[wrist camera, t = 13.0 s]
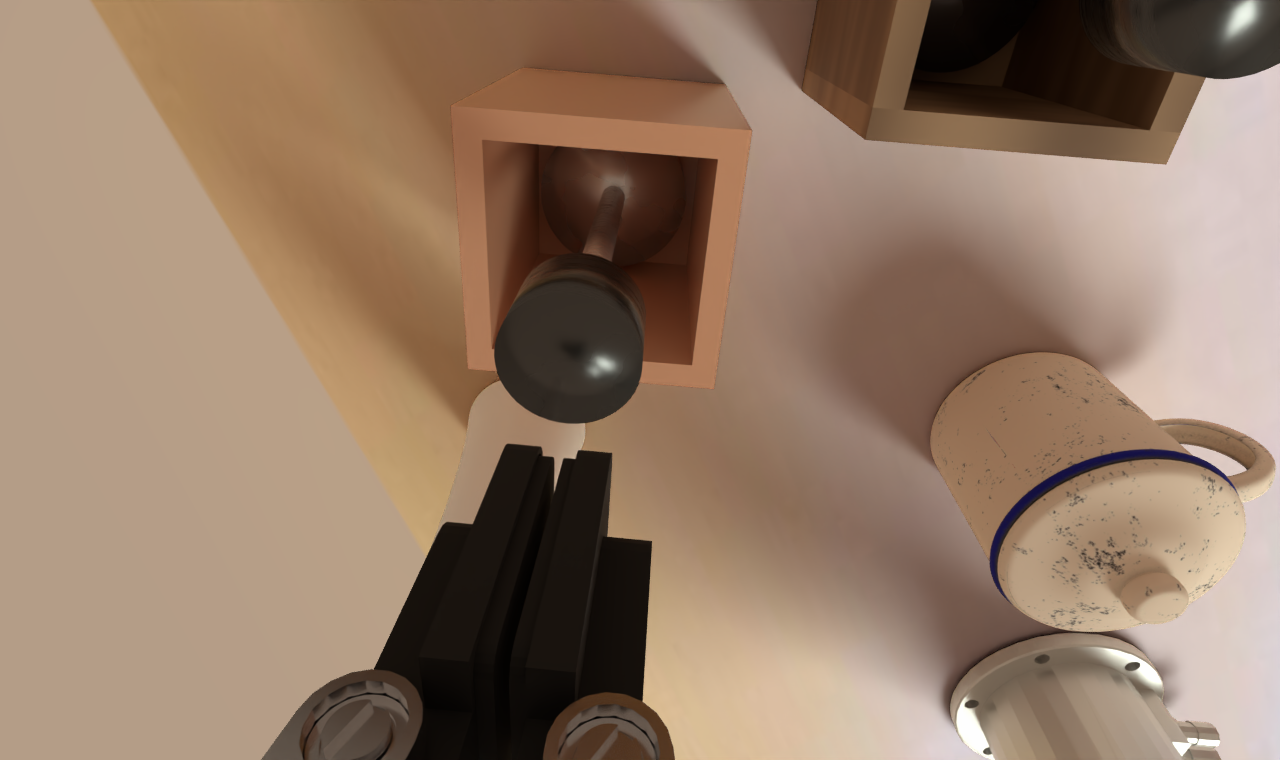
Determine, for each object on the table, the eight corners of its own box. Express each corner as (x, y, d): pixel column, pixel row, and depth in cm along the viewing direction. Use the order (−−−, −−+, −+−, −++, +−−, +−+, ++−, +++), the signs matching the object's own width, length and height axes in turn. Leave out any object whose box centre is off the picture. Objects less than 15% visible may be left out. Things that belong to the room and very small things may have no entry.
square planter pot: (725, 84, 26) (752, 130, 18) (696, 315, 31) (706, 439, 23) (522, 67, 26) (450, 106, 18) (526, 301, 31) (471, 420, 23)
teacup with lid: (932, 510, 37) (1031, 706, 27) (912, 371, 33) (1021, 543, 22) (1173, 460, 35) (1380, 654, 24) (1185, 304, 30) (1442, 462, 20)
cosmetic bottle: (495, 480, 37) (309, 1002, 18) (451, 388, 34) (175, 894, 15) (600, 459, 36) (521, 989, 17) (564, 363, 33) (421, 871, 14)
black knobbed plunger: (693, 123, 25) (714, 247, 13) (678, 265, 28) (684, 475, 16) (544, 111, 25) (426, 224, 13) (544, 254, 28) (448, 455, 16)
